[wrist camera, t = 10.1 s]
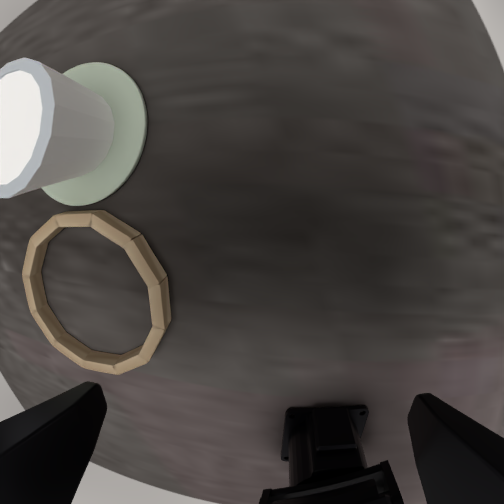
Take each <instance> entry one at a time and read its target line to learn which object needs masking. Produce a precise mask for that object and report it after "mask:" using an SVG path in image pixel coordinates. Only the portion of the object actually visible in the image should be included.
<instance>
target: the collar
mask: <svg viewBox="0 0 504 504" xmlns="http://www.w3.org/2000/svg"><path fill="white" fill-rule="evenodd" d="M65 227H92V228H93V229H95V230H96V231H98V232H99V233H101V234H102V235H104V236H105V237H107V238H109V239H110V240H112V241H113V242H115V243H116V244H118V245H119V246H121V247H123V248H124V249H125V251H126V252H127V254H128V256H129V257H130V259H131V261H132V262H133V264H134V265H135V267H136V269H137V270H138V272H139V273H140V275H141V277H142V278H143V280H144V281H145V283H146V285H147V286H148V292H149V301H150V309H151V317H152V325H153V327H152V329H151V331H150V333H149V335H148V337H147V339H146V341H145V343H144V345H142V346H140V347H138V348H135V349H133V350H131V351H129V352H127V353H124V354H122V355H118V354H111V353H105V352H99V351H94V350H91V349H89V348H88V347H87V346H85V345H84V344H82V343H81V342H79V341H78V340H77V339H75V338H74V337H72V336H71V335H70V334H68V333H67V332H66V331H65V330H64V328H63V327H62V326H61V324H60V322H59V321H58V319H57V318H56V316H55V315H54V313H53V312H52V310H51V309H50V307H49V305H48V304H47V300H46V295H45V290H44V285H43V280H42V274H41V269H42V265H43V261H44V257H45V253H46V250H47V246H48V242H49V241H50V240H51V239H52V238H53V237H54V236H56V235H57V234H58V233H59V232H60V231H61V230H62V229H64V228H65ZM140 234H141V233H140V232H138V231H137V230H135V229H133V228H132V227H130V226H129V225H127V224H125V223H124V222H122V221H121V220H119V219H117V218H116V217H114V216H113V215H111V214H109V213H108V212H106V211H105V210H87V211H67V212H64V213H60V214H57V215H54V216H53V217H52V218H51V219H50V220H48V221H47V222H46V223H45V224H44V225H43V226H42V227H41V228H40V229H39V230H38V231H37V232H36V233H35V234H34V235H33V236H32V237H31V239H30V240H29V244H28V248H27V253H26V257H25V262H24V267H23V272H22V274H23V275H22V276H23V282H24V286H25V291H26V296H27V300H28V304H29V308H30V312H31V314H32V316H33V317H34V319H35V320H36V322H37V324H38V325H39V327H40V328H41V330H42V331H43V333H44V334H45V336H46V337H47V339H48V340H49V342H50V343H51V344H52V345H53V347H55V348H56V349H57V350H59V351H60V352H61V353H63V354H64V355H66V356H67V357H68V358H70V359H71V360H73V361H74V362H75V363H77V364H78V365H80V366H81V367H84V368H85V369H90V370H95V371H100V372H105V373H110V374H116V375H119V374H122V373H124V372H126V371H129V370H131V369H134V368H136V367H139V366H141V365H144V364H146V363H148V362H149V360H150V359H151V357H152V355H153V354H154V352H155V350H156V348H157V346H158V344H159V343H160V341H161V339H162V337H163V335H164V333H165V331H166V329H167V327H168V325H169V324H170V322H171V309H170V299H169V288H168V277H167V274H166V272H165V271H164V269H163V268H162V266H161V264H160V263H159V261H158V260H157V258H156V256H155V255H154V253H153V251H152V250H151V248H150V247H149V245H148V243H147V242H146V240H145V238H144V237H143V235H140Z"/></svg>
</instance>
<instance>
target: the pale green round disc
mask: <svg viewBox="0 0 504 504" xmlns="http://www.w3.org/2000/svg"><path fill="white" fill-rule="evenodd" d="M63 75H65V76H66V77H68V78H70V79H72V80H74V81H75V82H77V83H79V84H81V85H82V86H84V87H86V88H88V89H90V90H91V91H93V92H95V93H96V94H98V95H100V96H102V97H103V98H104V100H105V101H106V102H107V104H108V105H109V106H110V107H111V110H112V115H113V119H114V123H115V125H114V134H113V142H112V144H111V146H110V149H109V151H108V153H107V155H106V158H105V159H104V160H103V161H102V162H101V163H100V164H99V165H98V166H97V168H96V169H95V170H93V171H91V172H89V173H87V174H85V175H83V176H80V177H76V178H73V179H69V180H65V181H62V182H58V183H55V184H52V185H48V186H45V187H42V189H43V190H44V191H45V192H46V193H47V194H48V195H49V196H50V197H51V198H53V199H55V200H56V201H58V202H60V203H63V204H66V205H71V206H82V205H88V204H92V203H95V202H99V201H101V200H103V199H105V198H107V197H109V196H110V195H112V194H113V193H115V192H116V191H117V190H118V189H119V188H120V187H121V186H122V185H123V184H124V183H125V182H126V181H127V180H128V178H129V177H130V175H131V174H132V173H133V171H134V169H135V167H136V166H137V164H138V162H139V159H140V157H141V155H142V152H143V149H144V145H145V141H146V136H147V125H148V122H147V110H146V104H145V101H144V98H143V95H142V93H141V91H140V89H139V87H138V86H137V84H136V83H135V81H134V80H133V79H132V78H131V77H130V76H129V75H128V74H126V73H125V72H124V71H122V70H121V69H119V68H117V67H115V66H113V65H110V64H106V63H99V62H93V63H86V64H82V65H79V66H76V67H74V68H72V69H70V70H68V71H66V72H65V73H63Z"/></svg>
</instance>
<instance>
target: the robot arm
mask: <svg viewBox="0 0 504 504" xmlns="http://www.w3.org/2000/svg"><path fill="white" fill-rule="evenodd" d="M361 411H363V412H361ZM106 412H107V403H106V400H105V397H104V394H103V391H102V388H101V386H100V385H99V384H98V383H94V382H88V381H87V382H85V383H82V384H80V385H78V386H76V387H74V388H72V389H70V390H68V391H66V392H64V393H62V394H60V395H58V396H56V397H53V398H51V399H49V400H47V401H45V402H43V403H41V404H39V405H36V406H34V407H32V408H30V409H28V410H26V411H23V412H21V413H19V414H17V415H15V416H12V417H10V418H8V419H6V420H3V421H1V422H0V504H71V503H72V500H73V498H74V496H75V493H76V491H77V488H78V486H79V484H80V481H81V479H82V477H83V474H84V472H85V470H86V467H87V465H88V463H89V461H90V459H91V456H92V454H93V451H94V449H95V446H96V443H97V440H98V437H99V433H100V430H101V427H102V424H103V421H104V418H105V415H106ZM368 413H369V410H368V408H367V406H363V405H362V406H349V407H330V408H292V409H288V410H287V411H286V413H285V423H284V432H283V442H282V450H281V460H283V461H289V483H290V487H285V488H279V489H264V490H263V493H262V496H261V498H260V501H259V504H404V502H403V499H402V496H401V493H400V491H399V488H398V485H397V483H396V480H395V478H394V475H393V472H392V470H391V467H390V465H389V462H388V460H386V461H383V462H380V464H378V465H375V466H372V467H369V468H368V467H367V463H366V459H365V455H364V452H363V448H362V444H361V440H360V438H361V435H362V432H363V429H364V426H365V423H366V420H367V416H368ZM291 414H294V415H291ZM408 426H409V431H410V436H411V441H412V446H413V452H414V457H415V462H416V466H417V470H418V473H419V476H420V480H421V483H422V487H423V490H424V494H425V497H426V501H427V504H504V438H503V437H501V436H499V435H498V434H496V433H494V432H493V431H491V430H489V429H488V428H486V427H484V426H483V425H481V424H479V423H478V422H476V421H474V420H473V419H471V418H470V417H468V416H466V415H465V414H463V413H461V412H460V411H458V410H457V409H455V408H453V407H452V406H450V405H448V404H447V403H445V402H444V401H442V400H440V399H439V398H437V397H436V396H434V395H432V394H431V393H423V394H418V395H416V397H415V398H414V401H413V404H412V406H411V409H410V411H409V414H408Z"/></svg>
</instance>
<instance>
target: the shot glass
mask: <svg viewBox="0 0 504 504" xmlns="http://www.w3.org/2000/svg"><path fill="white" fill-rule="evenodd" d="M114 125H115V123H114V119H113V115H112V110H111V107H110V106H109V105H108V104H107V102H106V101H105V100H104V98H103V97H102V96H100V95H98V94H96V93H95V92H93V91H91V90H90V89H88V88H86V87H84V86H82V85H81V84H79V83H77V82H75V81H74V80H72V79H70V78H68V77H66V76H65V75H63V74H61V73H59V72H57V71H55V70H54V69H52V68H50V67H48V66H46V65H44V64H42V63H40V62H38V61H35V60H31V59H28V58H25V57H24V58H21V59H18V60H15V61H12V62H9V63H7V64H6V65H5V66H4V67H2V68H1V69H0V198H11V197H14V196H17V195H20V194H23V193H26V192H29V191H32V190H35V189H38V188H42V187H45V186H48V185H52V184H55V183H58V182H62V181H65V180H69V179H73V178H76V177H80V176H83V175H85V174H87V173H89V172H91V171H93V170H95V169H96V168H97V166H98V165H99V164H100V163H101V162H102V161H103V160H104V159H105V158H106V155H107V153H108V151H109V149H110V146H111V144H112V142H113V134H114Z"/></svg>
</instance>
